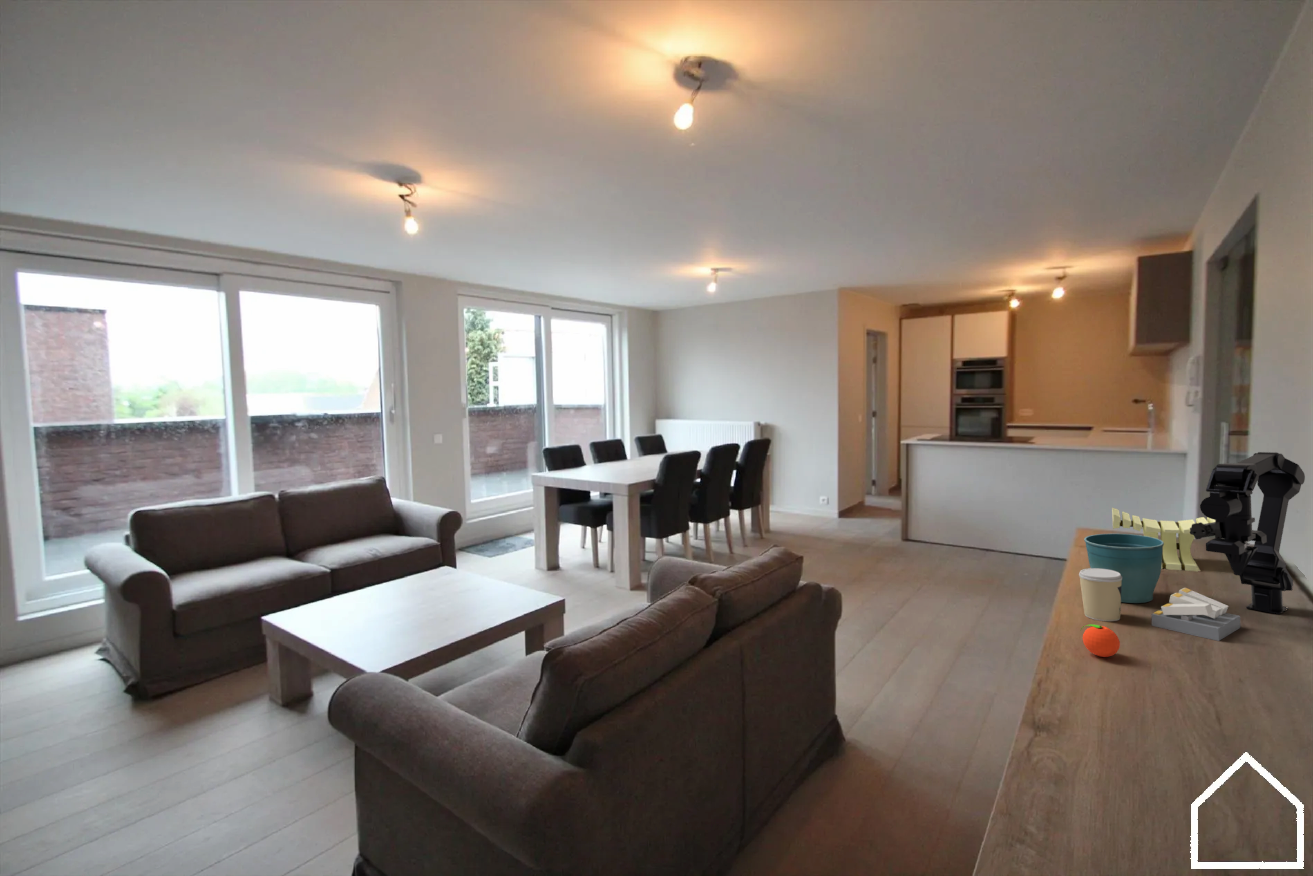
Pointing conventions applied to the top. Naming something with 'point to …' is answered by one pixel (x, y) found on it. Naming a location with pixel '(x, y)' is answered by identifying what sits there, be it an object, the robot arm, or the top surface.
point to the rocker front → (1187, 609)
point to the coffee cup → (1101, 593)
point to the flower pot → (1128, 562)
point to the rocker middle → (1182, 599)
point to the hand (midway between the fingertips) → (1237, 575)
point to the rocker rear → (1204, 599)
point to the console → (1198, 624)
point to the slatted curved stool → (1165, 537)
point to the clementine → (1101, 640)
